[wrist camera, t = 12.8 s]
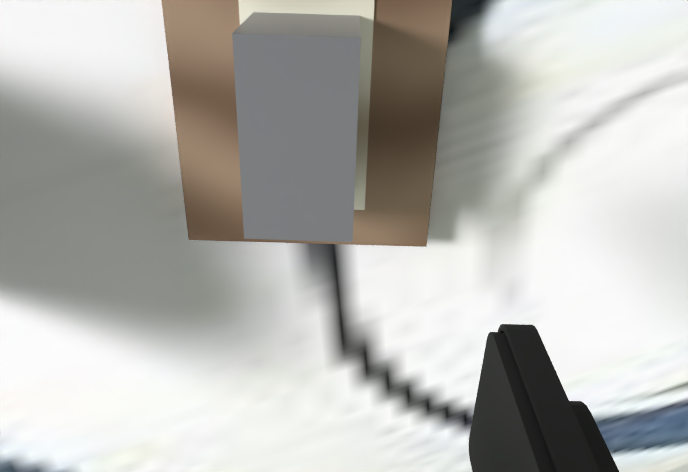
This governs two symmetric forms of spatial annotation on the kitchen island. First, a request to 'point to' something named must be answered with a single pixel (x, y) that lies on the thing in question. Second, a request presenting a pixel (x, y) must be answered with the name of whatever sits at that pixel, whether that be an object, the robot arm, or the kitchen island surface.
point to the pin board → (372, 126)
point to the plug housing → (297, 124)
